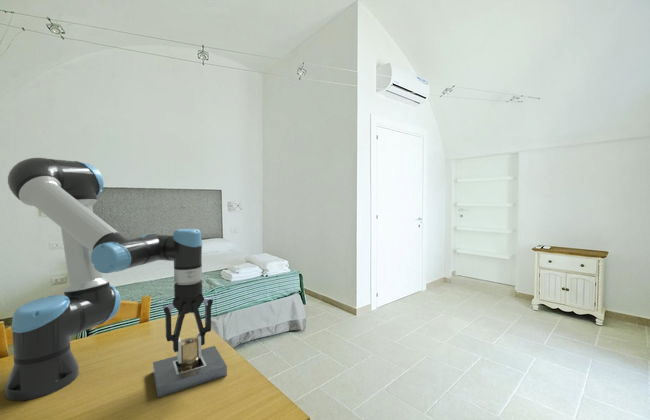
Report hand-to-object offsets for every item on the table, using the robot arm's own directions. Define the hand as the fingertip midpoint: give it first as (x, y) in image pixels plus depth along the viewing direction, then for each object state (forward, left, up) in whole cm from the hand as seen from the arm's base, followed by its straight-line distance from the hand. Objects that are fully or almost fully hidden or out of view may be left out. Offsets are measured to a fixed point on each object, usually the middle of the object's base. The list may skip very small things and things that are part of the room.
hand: (189, 358), depth 90 cm
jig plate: (0, 0, -5) cm, 5 cm away
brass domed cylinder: (0, 0, -4) cm, 4 cm away
